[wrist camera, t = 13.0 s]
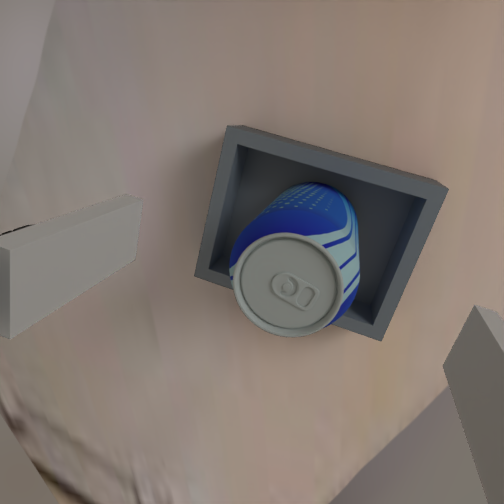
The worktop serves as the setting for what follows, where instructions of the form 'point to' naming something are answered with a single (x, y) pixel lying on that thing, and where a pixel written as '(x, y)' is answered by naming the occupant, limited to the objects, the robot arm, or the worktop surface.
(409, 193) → the caddy
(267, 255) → the beer can
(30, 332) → the worktop surface
